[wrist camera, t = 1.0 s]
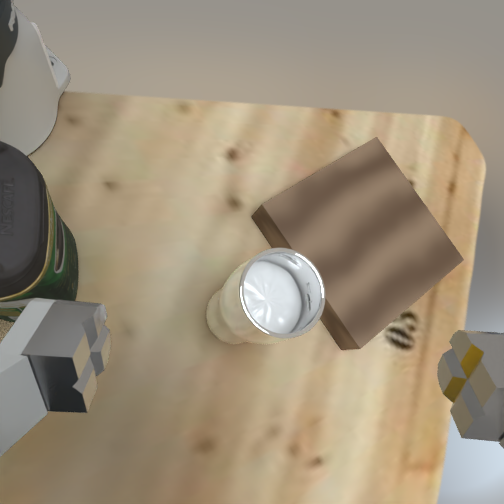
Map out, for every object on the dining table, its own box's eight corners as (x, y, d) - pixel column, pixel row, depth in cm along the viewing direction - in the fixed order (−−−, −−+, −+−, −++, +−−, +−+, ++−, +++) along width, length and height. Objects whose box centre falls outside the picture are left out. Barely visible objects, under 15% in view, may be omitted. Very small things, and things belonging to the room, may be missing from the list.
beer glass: (252, 274, 44) (308, 234, 30) (274, 335, 43) (342, 322, 29) (192, 293, 42) (222, 259, 28) (214, 358, 41) (256, 356, 27)
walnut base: (251, 217, 46) (262, 204, 42) (359, 152, 53) (376, 136, 49) (341, 349, 45) (360, 348, 41) (440, 267, 52) (464, 259, 48)
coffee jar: (-12, 225, 38) (-130, 114, 21) (78, 223, 41) (39, 121, 23) (-16, 329, 36) (-151, 298, 19) (80, 320, 38) (38, 286, 21)
